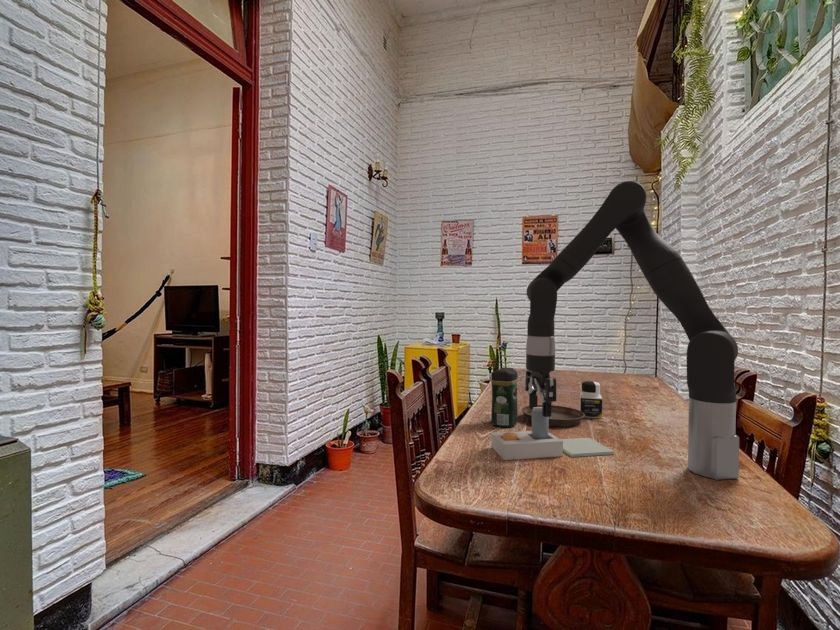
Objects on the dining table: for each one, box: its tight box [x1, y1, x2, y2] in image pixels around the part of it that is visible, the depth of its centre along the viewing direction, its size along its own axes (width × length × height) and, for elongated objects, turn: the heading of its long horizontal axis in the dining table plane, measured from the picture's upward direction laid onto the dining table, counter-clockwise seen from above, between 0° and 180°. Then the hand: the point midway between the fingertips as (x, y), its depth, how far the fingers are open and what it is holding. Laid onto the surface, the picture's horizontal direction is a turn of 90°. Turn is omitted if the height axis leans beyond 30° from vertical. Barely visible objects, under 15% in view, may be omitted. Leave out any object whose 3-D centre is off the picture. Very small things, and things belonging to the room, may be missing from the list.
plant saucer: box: [520, 404, 585, 427], centre depth 150 cm, size 21×21×3 cm
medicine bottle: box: [578, 380, 604, 419], centre depth 155 cm, size 7×7×12 cm
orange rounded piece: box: [503, 433, 517, 441], centre depth 117 cm, size 4×4×3 cm
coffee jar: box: [490, 366, 519, 428], centre depth 145 cm, size 10×8×19 cm
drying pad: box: [559, 437, 615, 458], centre depth 120 cm, size 12×12×1 cm
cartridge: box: [531, 407, 550, 440], centre depth 118 cm, size 4×4×12 cm
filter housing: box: [490, 430, 564, 461], centre depth 118 cm, size 16×10×4 cm, turn 100°
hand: (539, 412), depth 118 cm, fingers open, 8 cm apart
